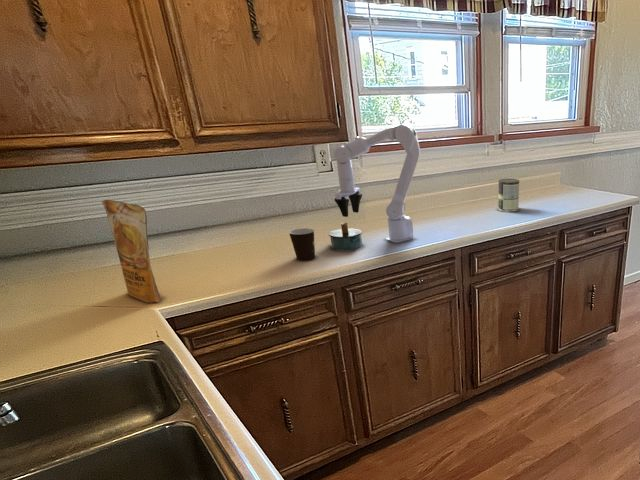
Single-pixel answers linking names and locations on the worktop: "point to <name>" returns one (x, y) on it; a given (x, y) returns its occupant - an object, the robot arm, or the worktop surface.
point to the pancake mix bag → (133, 248)
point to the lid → (345, 232)
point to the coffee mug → (303, 243)
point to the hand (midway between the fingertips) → (350, 214)
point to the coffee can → (508, 195)
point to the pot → (346, 243)
